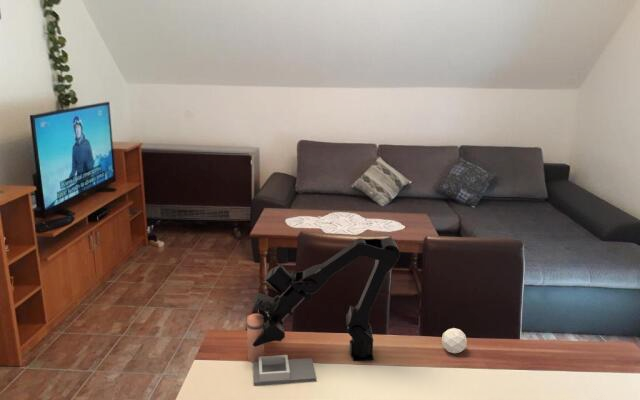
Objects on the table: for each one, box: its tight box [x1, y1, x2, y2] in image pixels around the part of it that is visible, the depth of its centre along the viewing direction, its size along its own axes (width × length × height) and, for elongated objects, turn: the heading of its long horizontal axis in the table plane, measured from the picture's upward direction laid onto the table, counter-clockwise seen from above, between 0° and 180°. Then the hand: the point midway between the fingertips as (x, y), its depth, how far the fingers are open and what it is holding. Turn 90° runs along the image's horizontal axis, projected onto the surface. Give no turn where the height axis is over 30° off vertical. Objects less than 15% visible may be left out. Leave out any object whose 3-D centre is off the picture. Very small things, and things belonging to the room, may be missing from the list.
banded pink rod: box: [246, 313, 265, 363], centre depth 155 cm, size 5×5×14 cm
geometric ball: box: [441, 327, 468, 354], centre depth 162 cm, size 8×8×8 cm
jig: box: [252, 354, 317, 387], centre depth 149 cm, size 18×10×4 cm, turn 98°
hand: (252, 337), depth 154 cm, fingers open, 9 cm apart
